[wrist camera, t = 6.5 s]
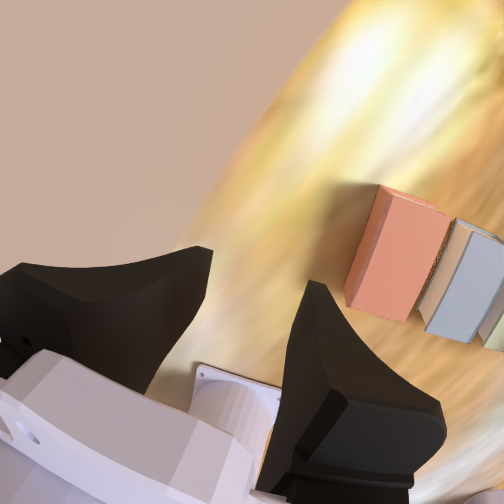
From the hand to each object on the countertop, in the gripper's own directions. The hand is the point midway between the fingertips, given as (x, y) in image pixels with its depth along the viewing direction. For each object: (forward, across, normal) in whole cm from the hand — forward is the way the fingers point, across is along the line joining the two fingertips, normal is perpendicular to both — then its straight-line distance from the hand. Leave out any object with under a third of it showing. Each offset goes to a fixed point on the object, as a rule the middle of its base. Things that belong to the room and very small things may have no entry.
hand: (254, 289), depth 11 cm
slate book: (+10, -13, 0) cm, 16 cm away
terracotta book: (+10, -7, 0) cm, 12 cm away
